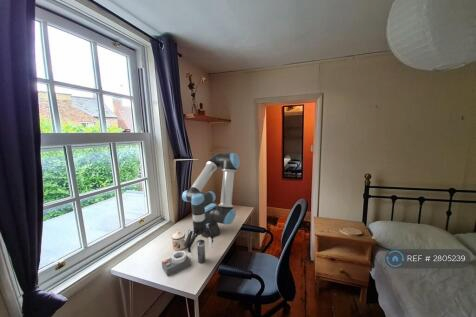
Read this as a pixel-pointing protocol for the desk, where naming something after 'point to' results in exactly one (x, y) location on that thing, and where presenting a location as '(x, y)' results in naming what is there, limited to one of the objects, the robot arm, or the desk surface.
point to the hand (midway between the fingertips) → (201, 251)
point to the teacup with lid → (178, 240)
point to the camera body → (175, 262)
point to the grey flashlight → (201, 251)
